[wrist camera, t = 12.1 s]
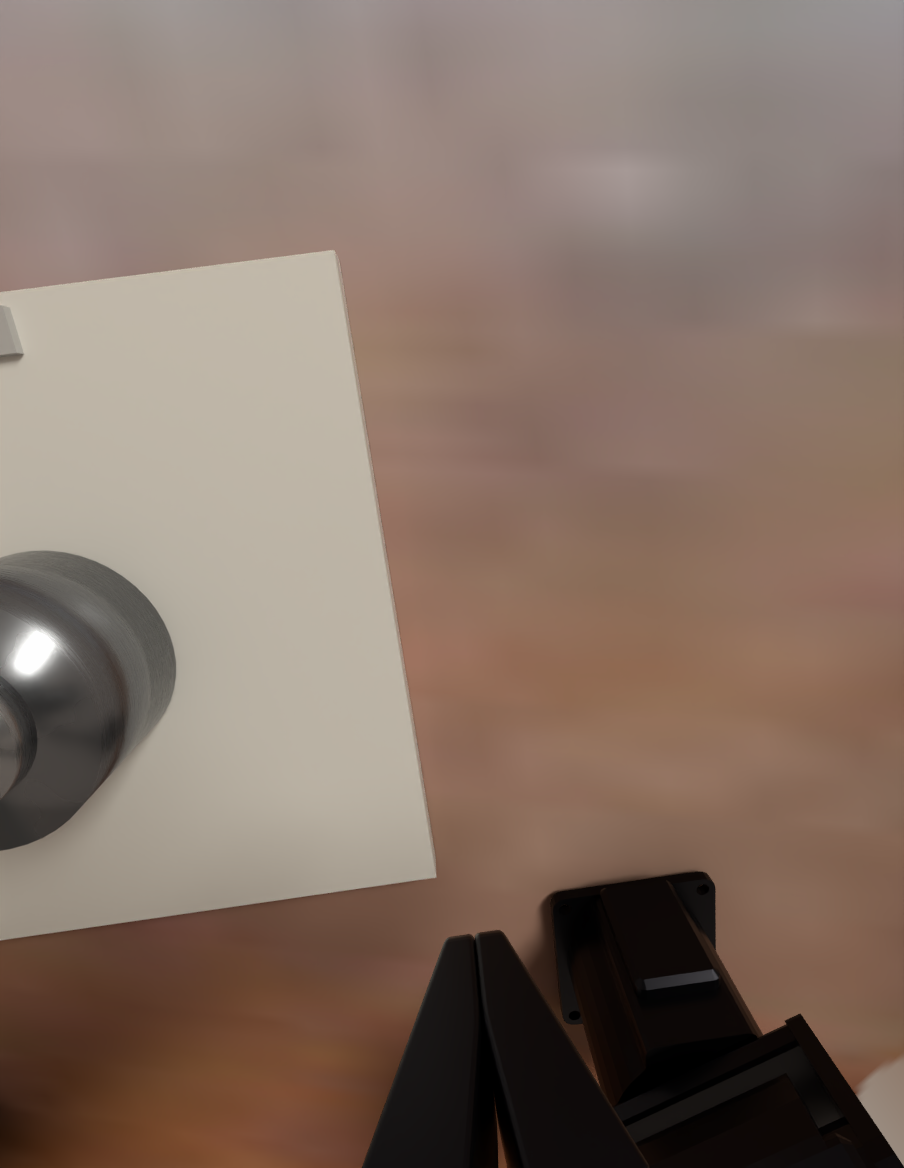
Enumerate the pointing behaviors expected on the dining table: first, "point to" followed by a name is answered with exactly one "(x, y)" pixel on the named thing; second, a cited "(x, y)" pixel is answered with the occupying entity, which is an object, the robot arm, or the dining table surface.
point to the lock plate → (217, 588)
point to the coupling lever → (71, 685)
